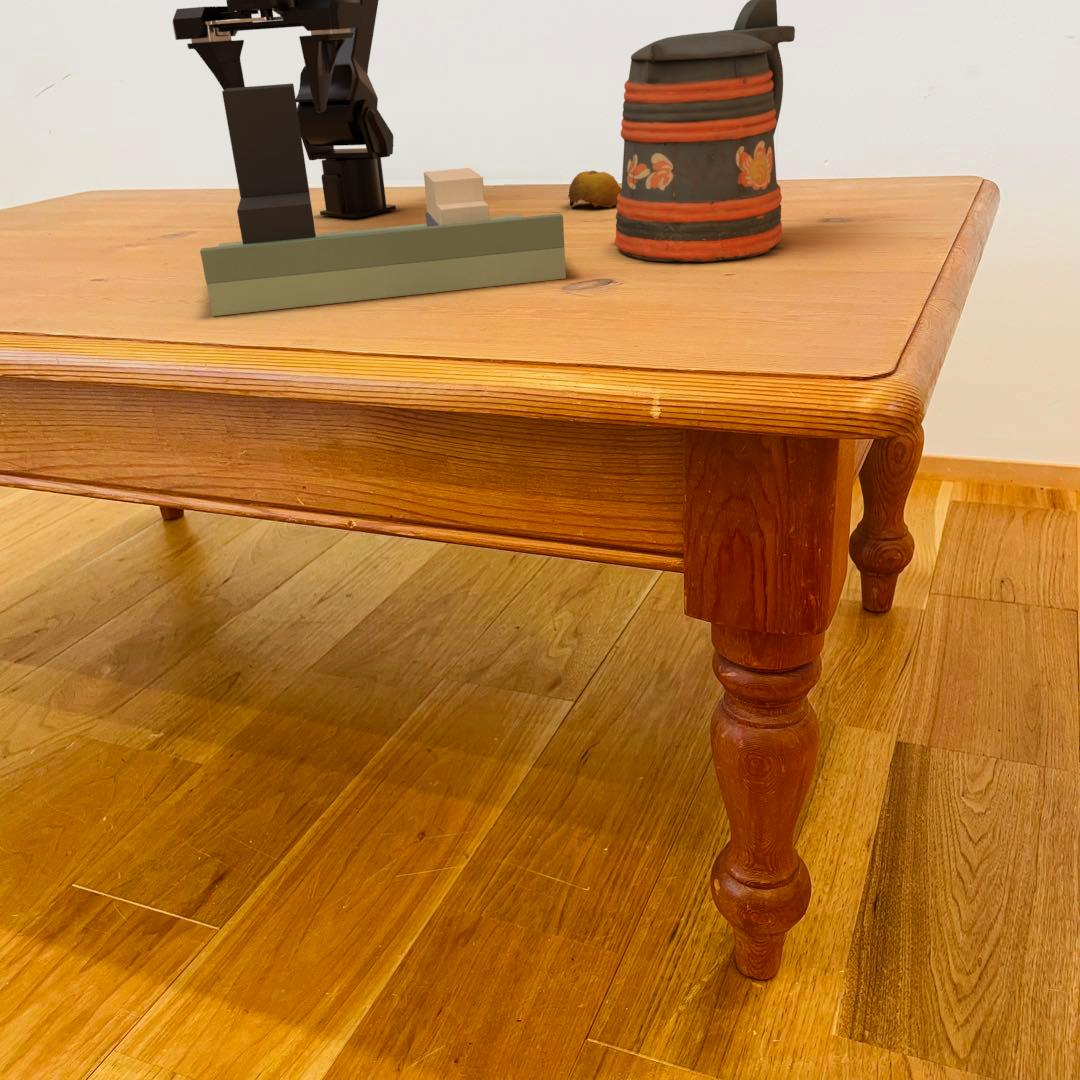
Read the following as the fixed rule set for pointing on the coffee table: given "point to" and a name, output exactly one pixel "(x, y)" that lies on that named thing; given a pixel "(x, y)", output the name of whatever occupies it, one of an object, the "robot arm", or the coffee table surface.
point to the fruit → (594, 189)
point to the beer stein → (703, 143)
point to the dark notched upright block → (269, 163)
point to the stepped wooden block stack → (455, 197)
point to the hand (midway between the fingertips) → (281, 113)
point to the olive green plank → (383, 263)
